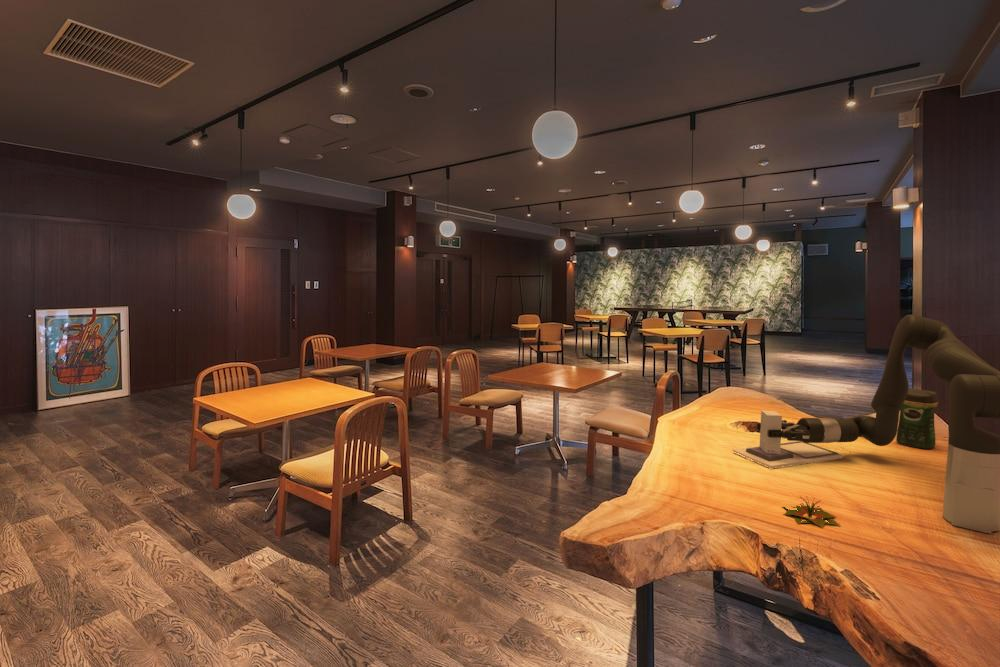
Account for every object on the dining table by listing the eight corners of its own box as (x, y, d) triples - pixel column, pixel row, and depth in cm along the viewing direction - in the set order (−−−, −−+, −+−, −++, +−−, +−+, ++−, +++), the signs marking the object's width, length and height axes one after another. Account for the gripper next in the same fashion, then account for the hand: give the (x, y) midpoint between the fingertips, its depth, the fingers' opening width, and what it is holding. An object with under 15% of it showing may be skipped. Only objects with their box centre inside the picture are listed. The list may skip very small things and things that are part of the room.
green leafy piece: (792, 529, 108) (793, 509, 107) (771, 505, 120) (772, 487, 119) (852, 533, 106) (853, 512, 105) (825, 508, 118) (826, 489, 117)
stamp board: (800, 443, 164) (800, 436, 164) (843, 458, 149) (843, 451, 149) (732, 452, 155) (732, 445, 155) (771, 469, 141) (771, 461, 141)
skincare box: (780, 454, 147) (782, 415, 146) (765, 453, 148) (766, 415, 147) (773, 447, 153) (775, 410, 152) (758, 447, 154) (760, 410, 153)
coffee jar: (938, 446, 158) (942, 390, 157) (928, 451, 154) (932, 393, 153) (902, 439, 167) (906, 385, 165) (891, 443, 163) (895, 388, 161)
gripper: (805, 412, 156) (752, 412, 157) (834, 425, 141) (775, 424, 142) (804, 435, 156) (751, 434, 157) (832, 450, 142) (773, 449, 143)
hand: (762, 430), depth 150 cm, fingers closed on skincare box, 6 cm apart
